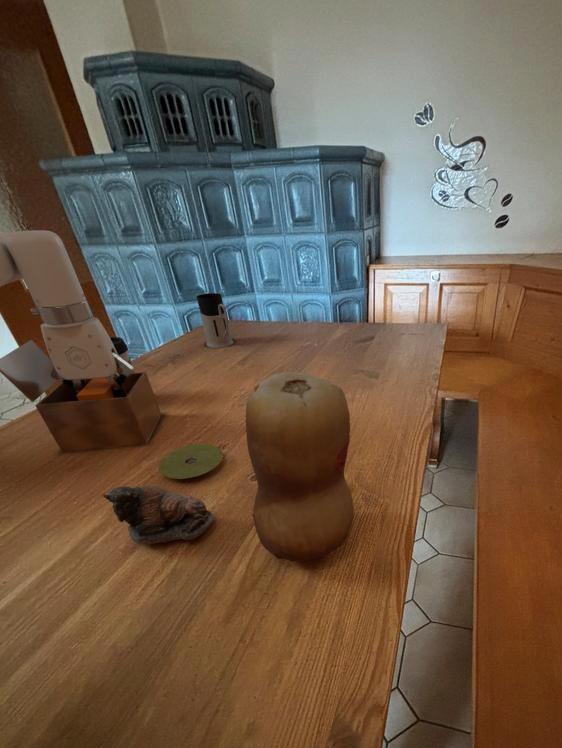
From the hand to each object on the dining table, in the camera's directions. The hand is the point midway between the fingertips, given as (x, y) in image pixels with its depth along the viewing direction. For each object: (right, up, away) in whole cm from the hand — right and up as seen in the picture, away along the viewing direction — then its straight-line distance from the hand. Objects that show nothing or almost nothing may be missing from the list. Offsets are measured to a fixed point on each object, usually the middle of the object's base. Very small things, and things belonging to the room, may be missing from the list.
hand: (108, 405), depth 79 cm
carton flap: (-10, +6, -6) cm, 13 cm away
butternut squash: (+44, -25, -22) cm, 56 cm away
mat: (+21, -13, -7) cm, 26 cm away
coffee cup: (-6, +4, +16) cm, 18 cm away
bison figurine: (+24, -24, -21) cm, 40 cm away
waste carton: (-1, -5, +4) cm, 6 cm away
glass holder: (+6, +29, +49) cm, 58 cm away
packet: (0, 0, 0) cm, 0 cm away
